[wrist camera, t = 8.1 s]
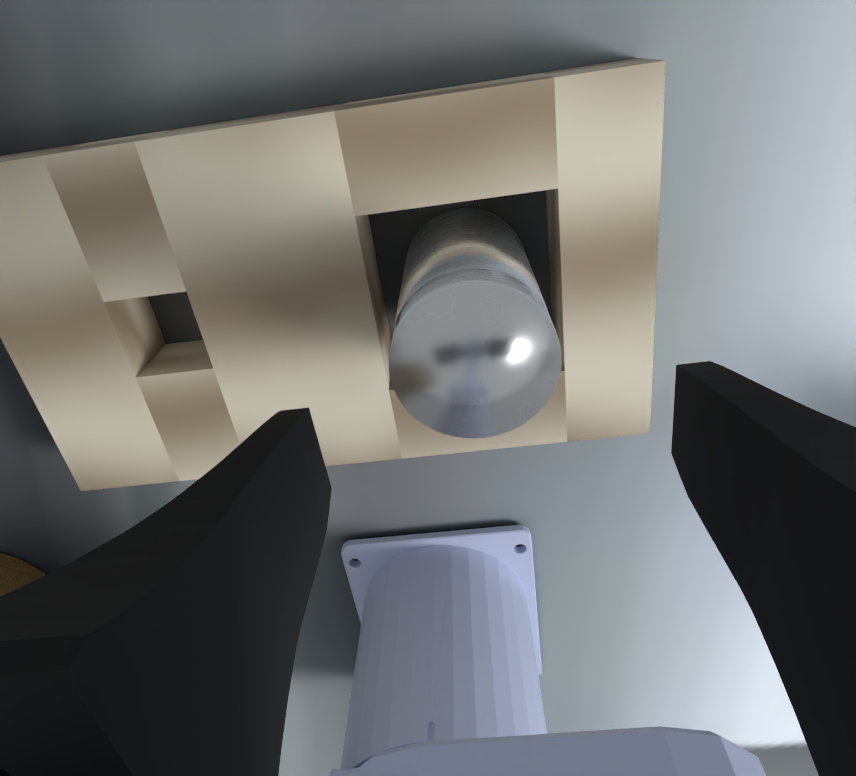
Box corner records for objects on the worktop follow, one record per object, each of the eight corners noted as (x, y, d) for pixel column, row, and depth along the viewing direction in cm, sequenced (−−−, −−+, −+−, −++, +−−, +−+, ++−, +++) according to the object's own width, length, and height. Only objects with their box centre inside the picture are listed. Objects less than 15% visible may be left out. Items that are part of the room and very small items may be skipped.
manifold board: (629, 395, 23) (649, 433, 20) (113, 450, 24) (81, 491, 22) (637, 58, 17) (665, 60, 15) (-25, 159, 19) (-85, 175, 17)
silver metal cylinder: (530, 315, 21) (566, 427, 15) (416, 332, 22) (405, 447, 15) (520, 198, 19) (556, 271, 13) (394, 218, 20) (372, 299, 14)
